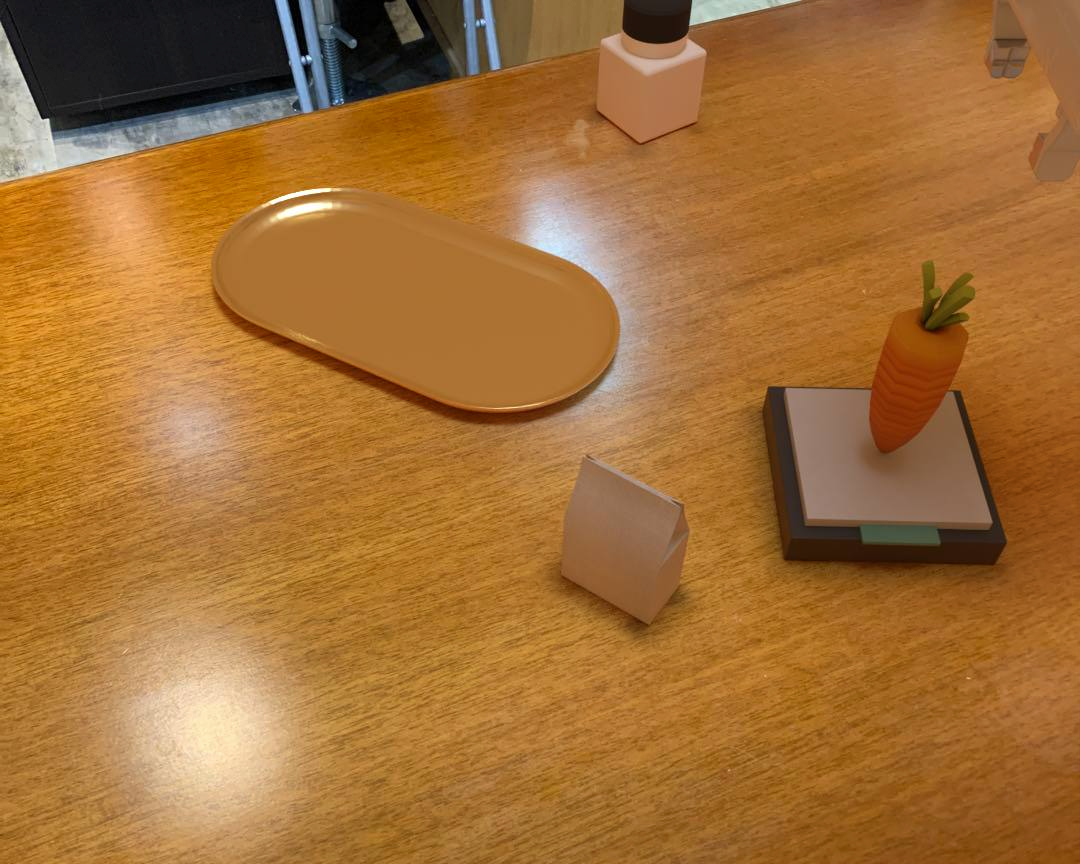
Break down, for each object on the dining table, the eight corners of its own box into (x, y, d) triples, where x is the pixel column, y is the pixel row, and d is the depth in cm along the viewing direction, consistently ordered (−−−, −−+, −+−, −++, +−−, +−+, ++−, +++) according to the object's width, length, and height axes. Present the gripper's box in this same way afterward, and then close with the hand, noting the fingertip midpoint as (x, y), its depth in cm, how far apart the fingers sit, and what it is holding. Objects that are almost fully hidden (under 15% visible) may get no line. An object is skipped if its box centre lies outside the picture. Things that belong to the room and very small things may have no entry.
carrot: (841, 423, 75) (901, 245, 63) (913, 426, 75) (986, 248, 63) (851, 477, 72) (916, 301, 60) (926, 480, 72) (1006, 304, 60)
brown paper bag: (649, 625, 69) (665, 527, 61) (561, 575, 71) (566, 474, 63) (678, 586, 71) (698, 486, 63) (592, 538, 73) (600, 436, 65)
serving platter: (546, 459, 77) (546, 444, 76) (166, 297, 87) (161, 282, 86) (658, 308, 87) (660, 293, 86) (306, 179, 97) (304, 164, 96)
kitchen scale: (950, 413, 80) (964, 381, 78) (996, 569, 72) (1013, 540, 69) (762, 408, 81) (769, 377, 78) (785, 564, 72) (794, 535, 69)
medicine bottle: (698, 122, 104) (716, -4, 94) (639, 145, 101) (651, 18, 92) (653, 89, 107) (665, -36, 98) (594, 110, 105) (601, -16, 95)
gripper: (1317, -68, 39) (1148, 245, 50) (1136, -263, 52) (1032, 22, 63) (1142, -68, 39) (1011, 245, 50) (1003, -263, 52) (923, 22, 63)
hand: (1022, 120), depth 57 cm, fingers open, 8 cm apart
